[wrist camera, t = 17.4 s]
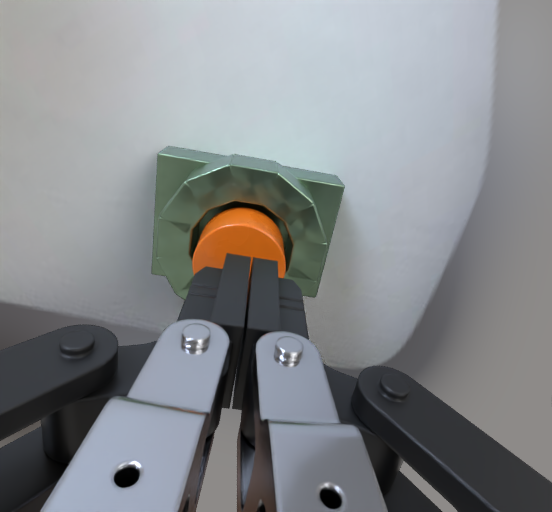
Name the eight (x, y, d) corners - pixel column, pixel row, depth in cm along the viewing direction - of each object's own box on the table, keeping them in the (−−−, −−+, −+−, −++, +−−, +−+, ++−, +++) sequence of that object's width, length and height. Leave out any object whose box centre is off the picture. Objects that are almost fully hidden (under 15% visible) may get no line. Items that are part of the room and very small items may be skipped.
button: (290, 214, 13) (294, 232, 12) (275, 288, 15) (276, 313, 13) (204, 200, 13) (196, 216, 12) (196, 276, 14) (188, 301, 13)
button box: (340, 164, 16) (359, 186, 13) (309, 287, 18) (319, 331, 15) (168, 133, 15) (143, 148, 12) (160, 266, 18) (137, 307, 14)
